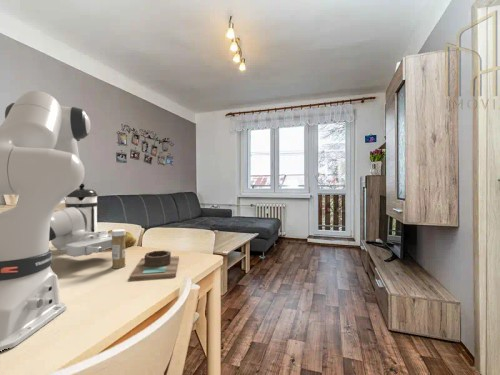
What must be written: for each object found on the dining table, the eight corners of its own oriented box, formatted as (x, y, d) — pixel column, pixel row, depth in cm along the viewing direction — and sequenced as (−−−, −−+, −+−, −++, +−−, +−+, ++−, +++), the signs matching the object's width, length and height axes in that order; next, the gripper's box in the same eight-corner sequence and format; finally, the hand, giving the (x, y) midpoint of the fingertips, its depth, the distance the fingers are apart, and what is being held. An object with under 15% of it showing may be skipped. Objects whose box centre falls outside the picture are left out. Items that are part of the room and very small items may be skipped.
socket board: (175, 276, 82) (175, 262, 82) (129, 280, 79) (129, 265, 79) (178, 259, 100) (178, 247, 100) (141, 261, 97) (141, 249, 97)
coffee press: (109, 244, 123) (109, 183, 122) (78, 253, 107) (78, 183, 107) (83, 241, 128) (83, 183, 127) (50, 249, 113) (49, 183, 112)
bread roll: (135, 243, 126) (135, 227, 126) (138, 247, 118) (137, 230, 118) (106, 246, 120) (106, 229, 119) (106, 251, 111) (106, 233, 111)
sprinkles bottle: (128, 266, 92) (128, 229, 92) (115, 269, 88) (115, 231, 88) (121, 263, 94) (121, 228, 94) (109, 267, 91) (108, 230, 90)
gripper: (57, 240, 88) (83, 244, 83) (109, 230, 107) (133, 233, 102) (57, 258, 88) (83, 263, 83) (109, 245, 107) (133, 248, 102)
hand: (111, 246), depth 92 cm, fingers open, 8 cm apart
